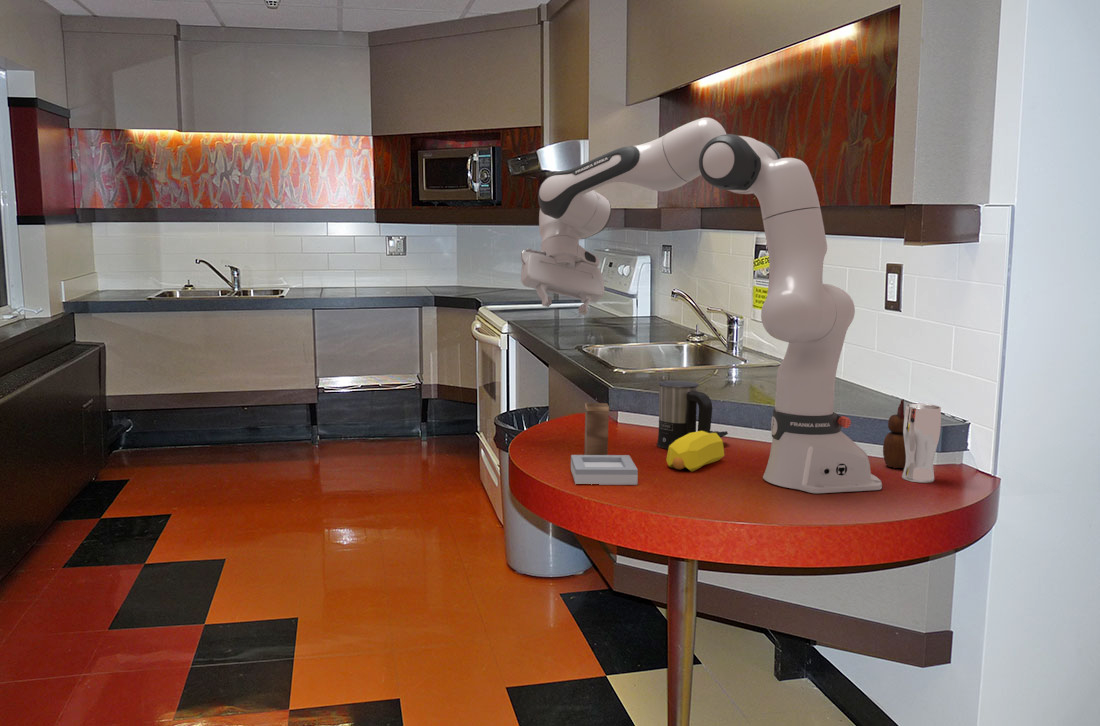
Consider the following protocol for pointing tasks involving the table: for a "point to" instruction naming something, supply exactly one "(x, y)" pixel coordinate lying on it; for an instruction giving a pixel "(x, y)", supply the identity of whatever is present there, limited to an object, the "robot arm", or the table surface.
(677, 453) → the hot dog
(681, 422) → the milk frother
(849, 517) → the table surface
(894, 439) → the wooden figurine
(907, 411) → the beer glass
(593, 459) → the plinth base
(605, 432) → the column block
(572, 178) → the robot arm
